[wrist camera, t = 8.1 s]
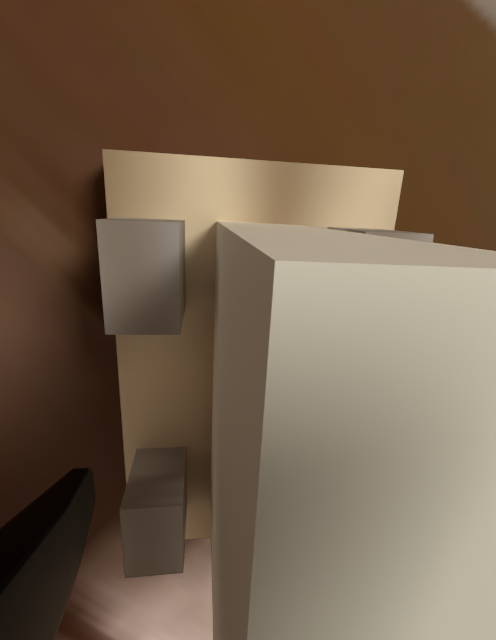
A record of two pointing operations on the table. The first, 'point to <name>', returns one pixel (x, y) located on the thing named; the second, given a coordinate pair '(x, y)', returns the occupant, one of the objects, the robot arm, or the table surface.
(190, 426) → the hinge clip plate
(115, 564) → the table surface
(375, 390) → the cabinet door panel
